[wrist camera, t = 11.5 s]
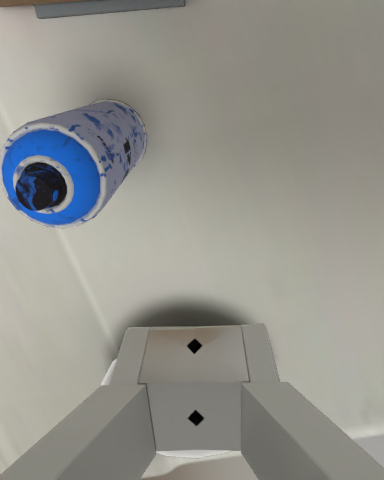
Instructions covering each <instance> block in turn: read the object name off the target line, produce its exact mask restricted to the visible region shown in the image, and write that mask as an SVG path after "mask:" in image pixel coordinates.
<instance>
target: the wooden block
mask: <svg viewBox="0 0 384 480" xmlns="http://www.w3.org/2000/svg"><path fill="white" fill-rule="evenodd" d="M77 1H91V0H0V7H7V6H21V5H35V4H49V3H63V2H77Z"/></svg>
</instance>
